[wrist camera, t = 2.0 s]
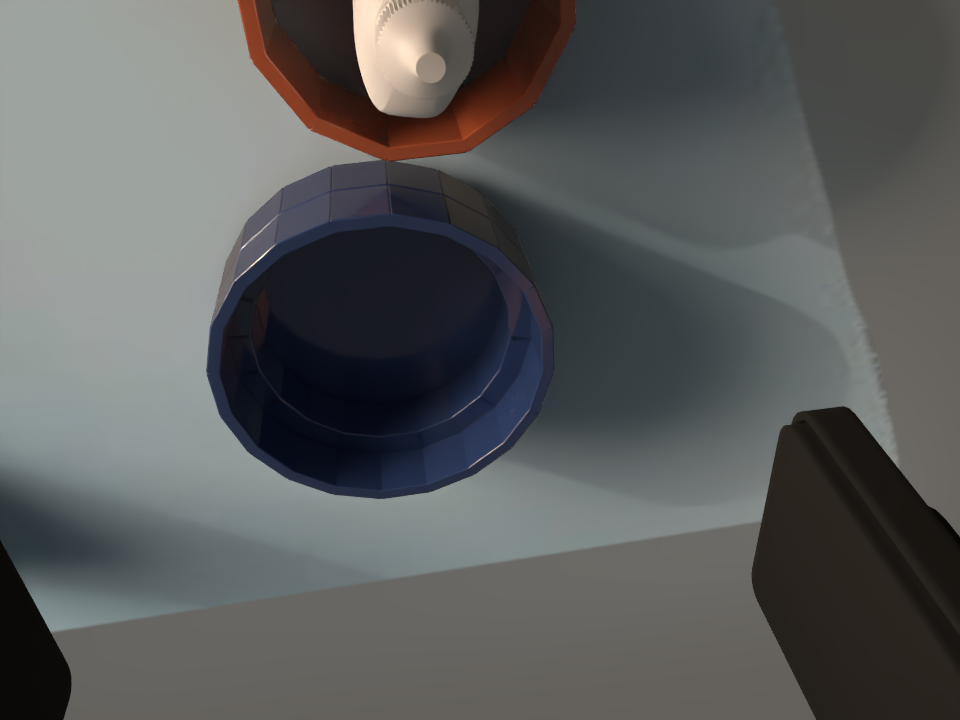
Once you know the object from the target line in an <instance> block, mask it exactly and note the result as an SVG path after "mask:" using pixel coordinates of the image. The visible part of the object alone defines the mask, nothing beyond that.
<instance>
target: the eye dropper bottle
mask: <svg viewBox="0 0 960 720" xmlns="http://www.w3.org/2000/svg"><path fill="white" fill-rule="evenodd" d="M478 17H479V0H353V21H354V37H355V47H356V53H357V59H358V63H359V68H360V72H361V75H362V78H363V82H364V84H365V87H366V90H367V92H368V95H369V97H370V99H371V101H372V103H373V104H374V105H375V106H376V108H377V109H378V110H379V111H381V112H384V113H386V114H389V115H395V116H402V117H413V118H431V117H435V116H438V115H439V114H440V113H441V112H443V111H444V110H445V109H446V108H447V106H448V105H449V103H450V102H451V100H452V99H453V97H454V96H455V94H456V92H457V90H458V88H459V86H460V85H461V83H463V80H465V79H466V77H465V76H467V75H469V74H468V72H469V71H470V70H471V69H470V67H471V66H472V65H473V64H472V61H474V59H473V56H474V55H475V54H474V50H475V48H474V45H475V40H476V34H477V28H478Z"/></svg>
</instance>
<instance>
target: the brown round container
mask: <svg viewBox="0 0 960 720" xmlns="http://www.w3.org/2000/svg"><path fill="white" fill-rule="evenodd" d="M238 4H239V9H240V13H241V18H242V22H243V27H244V32H245V36H246V41H247V45H248V50H249V54H250V58H251V59H252V62H253V64H254V65H255V66H256V67H257V68H258V70H259V71H260V72H261V73H262V74H263V76H264V77H265V78H266V79H267V80H268V82H269V83H270V84H271V85H272V86H273V87H274V89H275V90H276V91H277V92H278V93H279V95H280V96H281V97H282V98H283V99H284V101H285V102H286V103H287V104H288V105H289V106H290V108H291V109H292V110H293V111H294V112H295V114H296V115H297V116H298V117H299V118H300V120H301V121H302V122H303V123H304V124H305V125H306V127H307V128H308V129H311V131H313V132H315V133H318V134H320V135H323V136H325V137H328V138H330V139H333V140H335V141H338V142H340V143H342V144H345V145H347V146H350V147H352V148H355V149H357V150H360V151H362V152H365V153H367V154H370V155H372V156H375V157H377V158H380V159H382V160H384V161H387V160H388V161H397V160H406V159H415V158H424V157H432V156H441V155H450V154H459V153H466V152H467V151H470V150H472V149H473V148H475V147H476V146H477V145H479V144H480V143H482V142H483V141H485V140H486V139H487V138H489V137H490V136H492V135H493V134H495V133H496V132H497V131H499V130H500V129H502V128H503V127H505V126H506V125H507V124H509V123H510V122H512V121H513V120H515V119H516V118H517V117H519V116H520V115H522V114H523V113H524V112H526V111H527V110H529V109H530V108H532V107H533V106H534V104H536V102H537V101H538V99H539V97H540V95H541V93H542V91H543V89H544V87H545V85H546V83H547V81H548V79H549V77H550V75H551V73H552V71H553V69H554V67H555V65H556V63H557V62H558V60H559V58H560V56H561V54H562V52H563V50H564V48H565V46H566V44H567V42H568V40H569V38H570V36H571V34H572V32H573V30H574V26H575V0H531V2H530V4H529V6H528V8H527V10H526V12H525V15H524V17H523V19H522V21H521V23H520V25H519V27H518V29H517V31H516V33H515V35H514V37H513V40H512V42H511V44H510V46H509V48H508V50H507V52H506V54H505V56H504V58H503V59H502V60H501V61H499V62H498V63H496V64H495V65H494V66H492V67H491V68H490V69H488V70H487V71H485V72H484V73H483V74H481V75H480V76H479V77H477V78H476V79H474V80H473V81H472V82H470V83H469V84H468V85H466V86H465V87H463V88H462V89H461V90H459V91H458V92H456V94H455V96H454V97H453V99H452V100H451V102H450V103H449V105H448V106H447V108H446V109H445V110H444V111H443V112H441V113H440V114H439V115H438V116H435V117H431V118H413V117H402V116H395V115H389V114H386V113H384V112H381V111H379V110H378V109H377V108H376V106H375V105H374V104H373V103H372V101H371V99H370V98H367V97H365V96H363V95H360V94H358V93H356V92H353V91H351V90H349V89H346V88H344V87H342V86H339V85H337V84H335V83H332V82H330V81H328V80H325V79H323V78H321V76H320V75H319V74H318V73H317V71H316V70H315V69H314V68H313V66H312V65H311V64H310V63H309V61H308V60H307V59H306V58H305V56H304V55H303V54H302V53H301V51H300V50H299V49H298V48H297V46H296V45H295V44H294V43H293V41H292V40H291V39H290V38H289V36H288V35H287V34H286V33H285V31H284V30H283V29H282V28H281V26H280V25H279V24H278V23H277V21H276V19H275V14H274V9H273V4H272V0H238Z"/></svg>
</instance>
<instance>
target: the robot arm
mask: <svg viewBox="0 0 960 720" xmlns="http://www.w3.org/2000/svg"><path fill="white" fill-rule="evenodd" d="M752 584H753V589H754V593H755V596H756V599H757V601H758V603H759V605H760V607H761V609H762V611H763V613H764V615H765V617H766V619H767V621H768V623H769V625H770V627H771V629H772V631H773V633H774V635H775V637H776V639H777V641H778V643H779V645H780V647H781V649H782V651H783V653H784V655H785V658H786V660H787V662H788V663H789V666H790V668H791V670H792V672H793V674H794V675H795V678H796V680H797V682H798V684H799V686H800V688H801V690H802V692H803V694H804V696H805V698H806V700H807V702H808V704H809V706H810V708H811V710H812V712H813V714H814V716H815V718H816V720H960V537H959V535H958V534H957V533H956V532H955V530H954V529H953V528H952V527H951V525H950V524H949V523H948V522H947V520H946V519H945V518H944V517H943V516H942V515H940V513H939V512H937V510H935V509H933V508H931V507H929V506H928V505H927V504H926V503H925V502H924V500H923V499H922V498H921V497H920V495H919V494H918V493H917V491H916V490H915V489H914V488H913V486H912V485H911V484H910V483H909V481H908V480H907V479H906V478H905V476H904V475H903V474H902V473H901V471H900V470H899V469H898V467H897V466H896V465H895V464H894V462H893V461H892V460H891V459H890V457H889V456H888V455H887V454H886V452H885V451H884V450H883V449H882V447H881V446H880V445H879V444H878V442H877V441H876V440H875V438H874V437H873V436H872V435H871V433H870V432H869V431H868V430H867V428H866V427H865V426H864V425H863V423H862V422H861V421H860V420H859V418H858V417H857V416H856V414H855V413H854V412H853V411H851V410H850V409H849V408H847V407H844V406H843V407H835V408H827V409H819V410H811V411H803V412H799V413H797V414H796V415H795V416H794V418H793V421H792V424H791V425H786V426H783V428H782V429H781V431H780V434H779V438H778V443H777V448H776V453H775V458H774V463H773V468H772V473H771V478H770V483H769V488H768V493H767V498H766V503H765V508H764V513H763V518H762V523H761V528H760V533H759V538H758V543H757V548H756V553H755V557H754V562H753V567H752ZM70 694H71V673H70V669H69V666H68V664H67V662H66V660H65V658H64V656H63V654H62V653H61V651H60V649H59V647H58V646H57V643H56V641H55V640H54V638H53V636H52V634H51V632H50V630H49V629H48V627H47V625H46V623H45V621H44V619H43V618H42V616H41V614H40V612H39V610H38V608H37V606H36V605H35V603H34V601H33V599H32V597H31V595H30V594H29V592H28V590H27V588H26V586H25V584H24V582H23V581H22V579H21V577H20V575H19V573H18V571H17V570H16V568H15V566H14V564H13V562H12V560H11V558H10V557H9V555H8V553H7V551H6V549H5V547H4V546H3V544H2V542H1V540H0V720H63V719H64V715H65V712H66V709H67V706H68V702H69V698H70Z"/></svg>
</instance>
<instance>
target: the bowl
mask: <svg viewBox="0 0 960 720" xmlns="http://www.w3.org/2000/svg"><path fill="white" fill-rule="evenodd" d="M206 372H207V377H208V380H209V383H210V386H211V390H212V393H213V396H214V399H215V402H216V405H217V409H218V412H219V415H220V416H221V418H222V419H223V421H224V422H225V423H226V425H227V426H228V427H229V428H230V430H231V431H232V432H233V434H234V435H235V436H236V437H237V439H238V440H239V441H240V442H241V444H242V445H243V446H244V448H245V449H246V450H247V451H248V452H249V453H250V454H251V455H253V456H254V457H256V458H257V459H259V460H260V461H262V462H263V463H265V464H266V465H267V466H269V467H270V468H272V469H273V470H275V471H276V472H278V473H279V474H281V475H282V476H284V477H285V478H288V479H289V480H292V481H295V482H298V483H300V484H303V485H306V486H309V487H312V488H315V489H318V490H321V491H324V492H327V493H330V494H334V495H343V496H354V497H365V498H376V499H381V498H382V499H385V498H392V497H399V496H406V495H414V494H421V493H428V492H429V491H430V492H432V491H434V490H437V489H439V488H442V487H444V486H447V485H450V484H452V483H455V482H457V481H460V480H462V479H465V478H467V477H470V476H473V475H474V474H476V473H478V472H479V471H480V470H482V469H483V468H485V467H486V466H487V465H489V464H490V463H492V462H493V461H494V460H496V459H497V458H498V457H500V456H501V455H503V454H504V453H505V452H507V451H508V450H510V449H511V447H513V446H514V445H515V443H516V442H517V441H518V439H519V438H520V437H521V436H522V434H523V433H524V432H525V431H526V429H527V428H528V427H529V425H530V424H531V423H532V422H533V420H534V419H535V418H536V417H537V415H538V414H539V412H540V410H541V407H542V404H543V401H544V399H545V396H546V393H547V390H548V387H549V385H550V382H551V379H552V376H553V373H554V337H553V326H552V323H551V320H550V318H549V315H548V312H547V310H546V307H545V304H544V302H543V299H542V296H541V294H540V291H539V288H538V286H537V283H536V280H535V278H534V275H533V272H532V269H531V267H530V264H529V262H528V260H527V257H526V255H525V253H524V250H523V248H522V245H521V243H520V241H519V238H518V236H517V234H516V231H515V229H514V228H513V226H512V225H511V224H510V223H509V222H508V221H507V220H506V219H505V217H504V216H503V215H502V214H501V213H500V212H499V211H498V210H497V209H496V208H495V207H494V206H493V205H492V203H491V202H490V201H489V200H488V199H487V198H486V197H485V196H484V195H483V194H481V192H479V191H477V190H475V189H473V188H471V187H469V186H468V185H466V184H464V183H462V182H460V181H458V180H456V179H454V178H453V177H451V176H449V175H447V174H445V173H443V172H441V171H440V170H436V169H432V168H427V167H421V166H416V165H411V164H405V163H400V162H395V161H388V160H387V161H384V160H379V161H370V162H361V163H353V164H344V165H335V166H332V167H328V168H326V169H323V170H321V171H319V172H317V173H314V174H312V175H310V176H308V177H305V178H303V179H301V180H299V181H296V182H294V183H292V184H290V185H287V186H285V187H284V188H282V189H281V190H280V191H279V192H277V193H276V194H275V195H274V196H273V197H272V198H271V199H270V200H269V201H268V202H267V203H266V204H264V205H263V206H262V207H261V208H260V209H259V210H258V211H257V212H256V213H255V214H254V215H253V216H251V217H250V218H249V219H248V220H247V222H246V223H245V225H244V227H243V229H242V231H241V233H240V235H239V237H238V239H237V241H236V243H235V245H234V247H233V249H232V251H231V253H230V255H229V257H228V259H227V261H226V264H225V268H224V272H223V276H222V280H221V284H220V288H219V293H218V297H217V301H216V305H215V309H214V313H213V317H212V321H211V326H210V334H209V345H208V357H207V368H206Z"/></svg>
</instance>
